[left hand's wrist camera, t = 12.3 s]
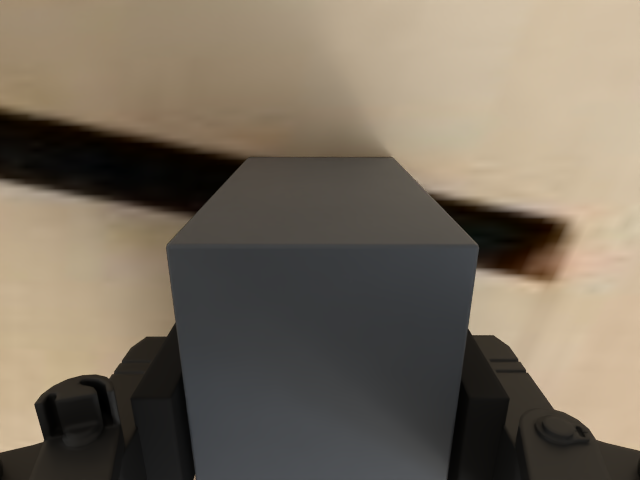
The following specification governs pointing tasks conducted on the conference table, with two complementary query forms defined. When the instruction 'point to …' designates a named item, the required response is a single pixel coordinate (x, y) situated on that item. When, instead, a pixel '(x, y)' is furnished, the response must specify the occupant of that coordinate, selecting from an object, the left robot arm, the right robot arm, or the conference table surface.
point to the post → (321, 322)
